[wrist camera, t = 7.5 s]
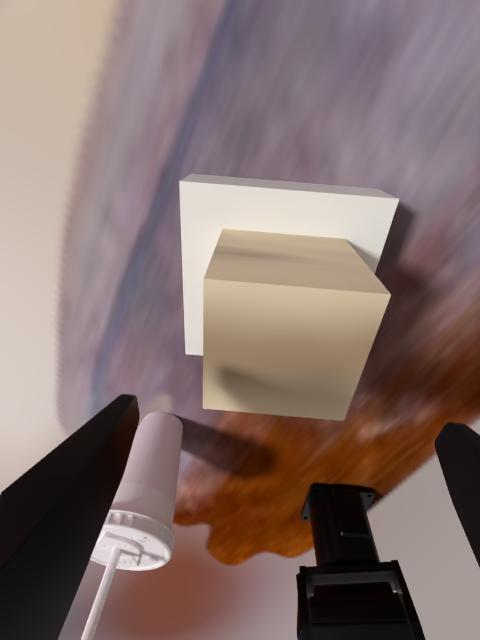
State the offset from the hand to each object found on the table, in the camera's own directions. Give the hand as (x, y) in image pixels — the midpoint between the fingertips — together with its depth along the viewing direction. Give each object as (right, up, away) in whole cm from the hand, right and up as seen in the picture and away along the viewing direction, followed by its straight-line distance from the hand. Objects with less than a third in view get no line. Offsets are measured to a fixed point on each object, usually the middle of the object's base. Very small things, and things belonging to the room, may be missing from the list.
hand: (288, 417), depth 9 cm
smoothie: (-8, -7, +19) cm, 22 cm away
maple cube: (0, +5, +8) cm, 9 cm away
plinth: (+1, +6, +10) cm, 12 cm away
